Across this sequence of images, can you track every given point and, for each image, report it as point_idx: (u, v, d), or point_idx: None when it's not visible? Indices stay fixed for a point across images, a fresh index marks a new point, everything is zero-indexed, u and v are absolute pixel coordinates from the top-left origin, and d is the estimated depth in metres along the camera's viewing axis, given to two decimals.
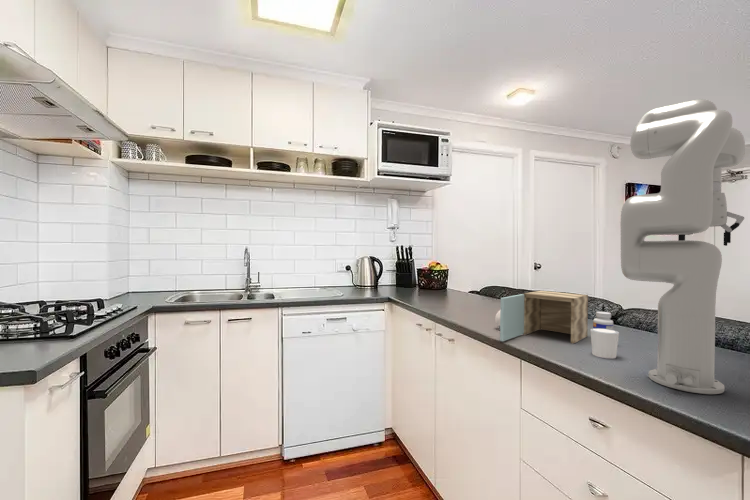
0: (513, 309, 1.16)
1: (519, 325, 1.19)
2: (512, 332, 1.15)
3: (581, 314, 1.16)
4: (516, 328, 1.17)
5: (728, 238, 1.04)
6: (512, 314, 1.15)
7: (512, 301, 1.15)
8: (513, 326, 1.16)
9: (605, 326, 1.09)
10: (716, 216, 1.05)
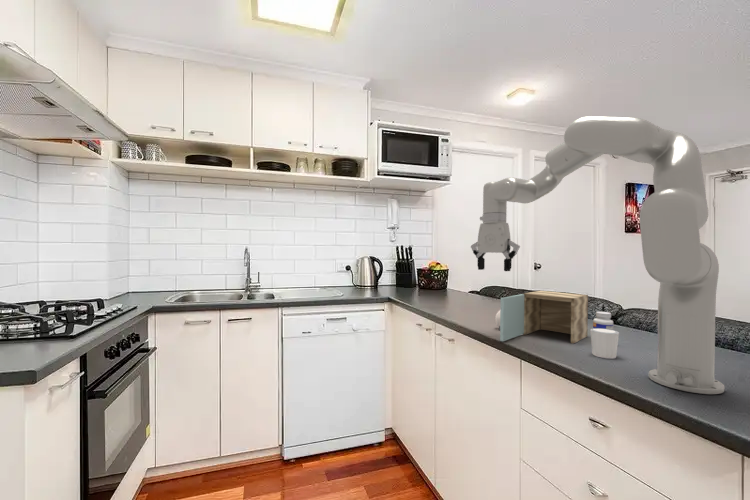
0: (513, 309, 1.16)
1: (519, 325, 1.19)
2: (512, 332, 1.15)
3: (581, 314, 1.16)
4: (516, 328, 1.17)
5: (507, 264, 1.15)
6: (512, 314, 1.15)
7: (512, 301, 1.15)
8: (513, 326, 1.16)
9: (605, 326, 1.09)
10: (498, 244, 1.15)
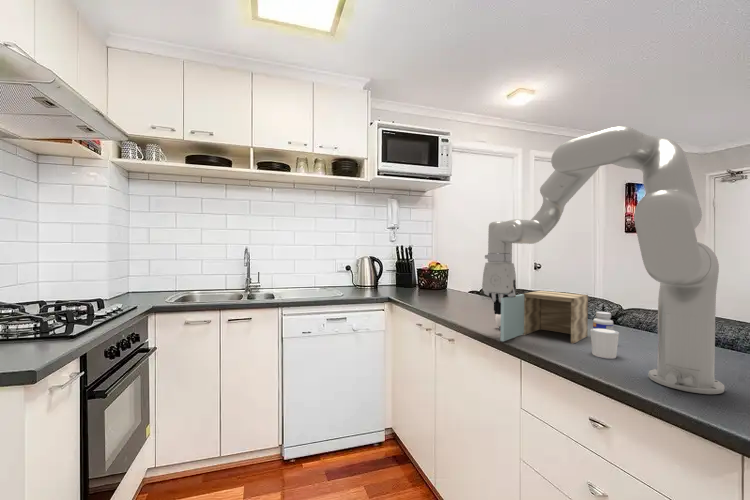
0: (514, 309, 1.16)
1: (519, 325, 1.19)
2: (512, 332, 1.15)
3: (581, 314, 1.16)
4: (516, 328, 1.17)
5: (500, 308, 1.16)
6: (512, 314, 1.15)
7: (512, 301, 1.15)
8: (514, 326, 1.16)
9: (605, 326, 1.09)
10: (503, 285, 1.13)
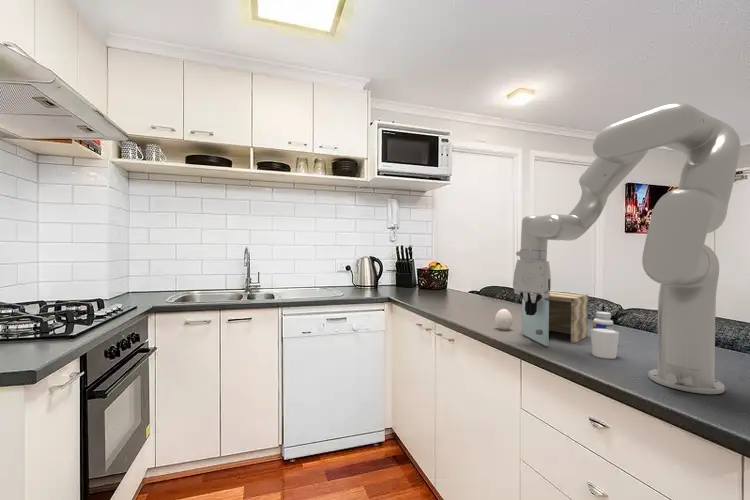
0: None
1: None
2: None
3: (581, 314, 1.16)
4: None
5: (533, 308, 1.09)
6: None
7: None
8: None
9: (605, 326, 1.09)
10: (538, 285, 1.06)
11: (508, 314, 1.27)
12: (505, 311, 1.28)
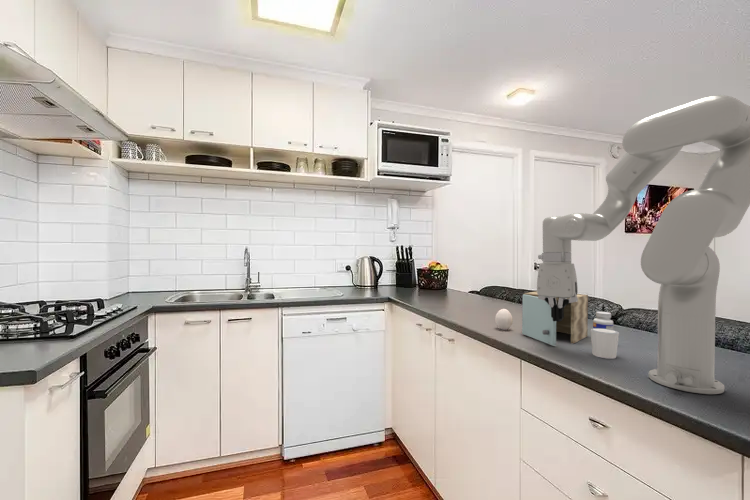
0: None
1: None
2: None
3: (581, 314, 1.16)
4: None
5: (560, 314, 1.03)
6: None
7: None
8: None
9: (605, 326, 1.09)
10: (564, 288, 1.00)
11: (508, 314, 1.27)
12: (505, 311, 1.28)
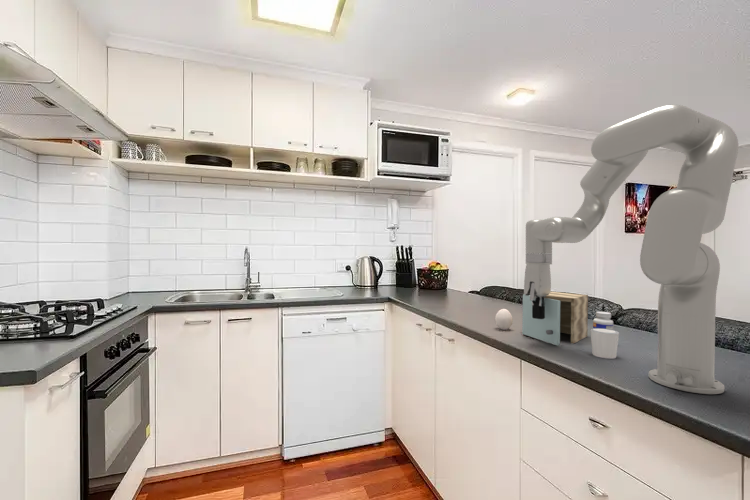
0: None
1: None
2: None
3: (581, 314, 1.16)
4: None
5: None
6: None
7: None
8: None
9: (605, 326, 1.09)
10: None
11: (508, 314, 1.27)
12: (505, 311, 1.28)
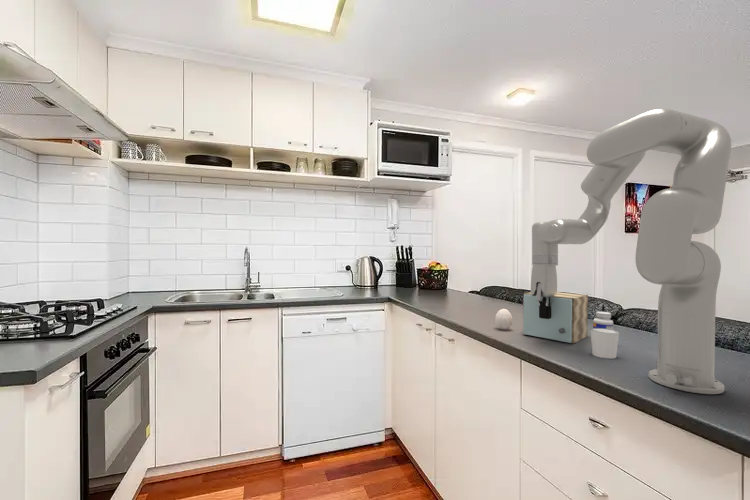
0: None
1: None
2: None
3: (581, 314, 1.16)
4: None
5: None
6: None
7: None
8: None
9: (605, 326, 1.09)
10: None
11: (508, 314, 1.27)
12: (505, 311, 1.28)
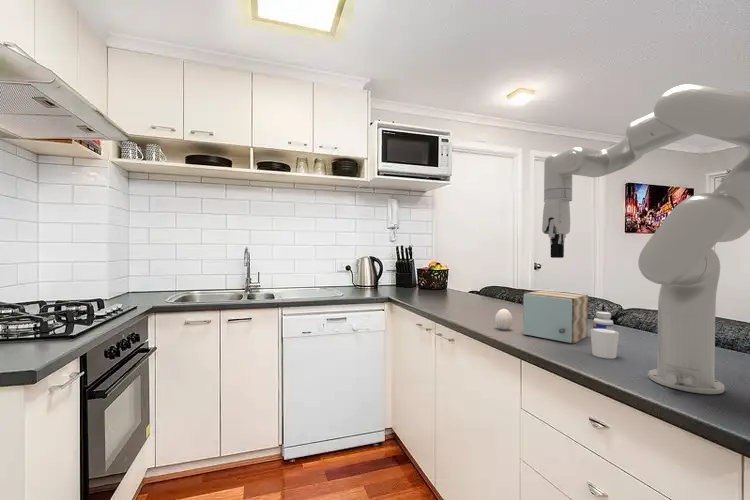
0: None
1: None
2: None
3: (581, 314, 1.16)
4: None
5: None
6: None
7: None
8: None
9: (605, 326, 1.09)
10: None
11: (508, 314, 1.27)
12: (505, 311, 1.28)
